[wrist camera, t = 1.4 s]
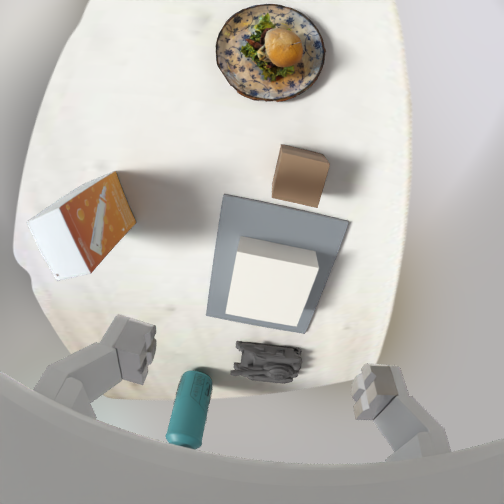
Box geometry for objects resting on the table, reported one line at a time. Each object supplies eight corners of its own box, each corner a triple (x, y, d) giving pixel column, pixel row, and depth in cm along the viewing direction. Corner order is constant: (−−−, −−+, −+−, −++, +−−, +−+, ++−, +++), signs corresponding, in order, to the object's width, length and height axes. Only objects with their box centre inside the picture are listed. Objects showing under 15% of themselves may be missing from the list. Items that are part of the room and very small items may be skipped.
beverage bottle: (176, 367, 55) (150, 456, 38) (202, 360, 53) (179, 456, 36) (196, 385, 58) (176, 470, 41) (222, 379, 56) (206, 470, 39)
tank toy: (232, 367, 54) (228, 389, 50) (235, 334, 49) (231, 357, 45) (294, 374, 54) (294, 396, 50) (305, 342, 49) (307, 365, 45)
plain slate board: (223, 193, 37) (223, 195, 36) (347, 221, 37) (348, 222, 37) (206, 313, 47) (206, 315, 46) (304, 331, 47) (304, 333, 47)
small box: (137, 222, 40) (92, 275, 28) (104, 232, 41) (56, 283, 30) (116, 168, 36) (58, 206, 24) (82, 182, 37) (24, 222, 26)
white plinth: (240, 235, 39) (236, 251, 35) (315, 251, 39) (318, 268, 36) (229, 295, 44) (225, 313, 40) (295, 308, 44) (296, 326, 41)
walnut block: (281, 144, 33) (282, 152, 29) (322, 154, 33) (330, 164, 29) (272, 183, 36) (271, 197, 31) (312, 192, 36) (317, 207, 32)
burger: (235, -3, 24) (224, -24, 18) (336, 25, 25) (351, 10, 19) (205, 87, 30) (187, 87, 24) (305, 115, 31) (313, 121, 25)
